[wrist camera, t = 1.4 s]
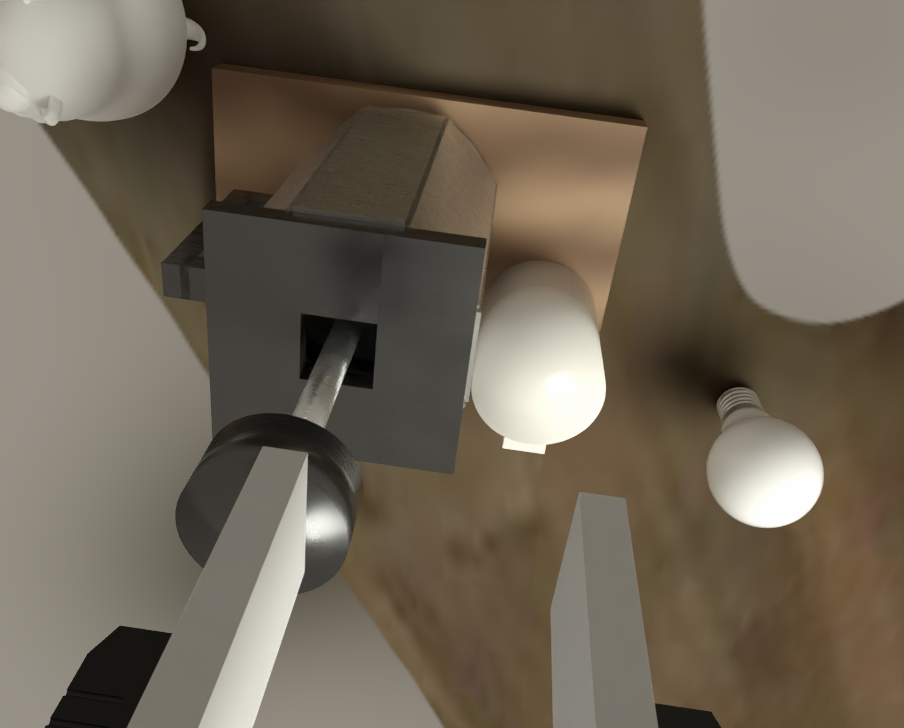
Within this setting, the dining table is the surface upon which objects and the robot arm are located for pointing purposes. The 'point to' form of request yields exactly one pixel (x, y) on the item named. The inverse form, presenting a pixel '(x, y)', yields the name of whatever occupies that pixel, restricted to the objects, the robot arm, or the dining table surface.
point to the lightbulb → (761, 464)
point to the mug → (538, 356)
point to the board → (487, 125)
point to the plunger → (328, 458)
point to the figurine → (91, 57)
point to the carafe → (352, 283)
